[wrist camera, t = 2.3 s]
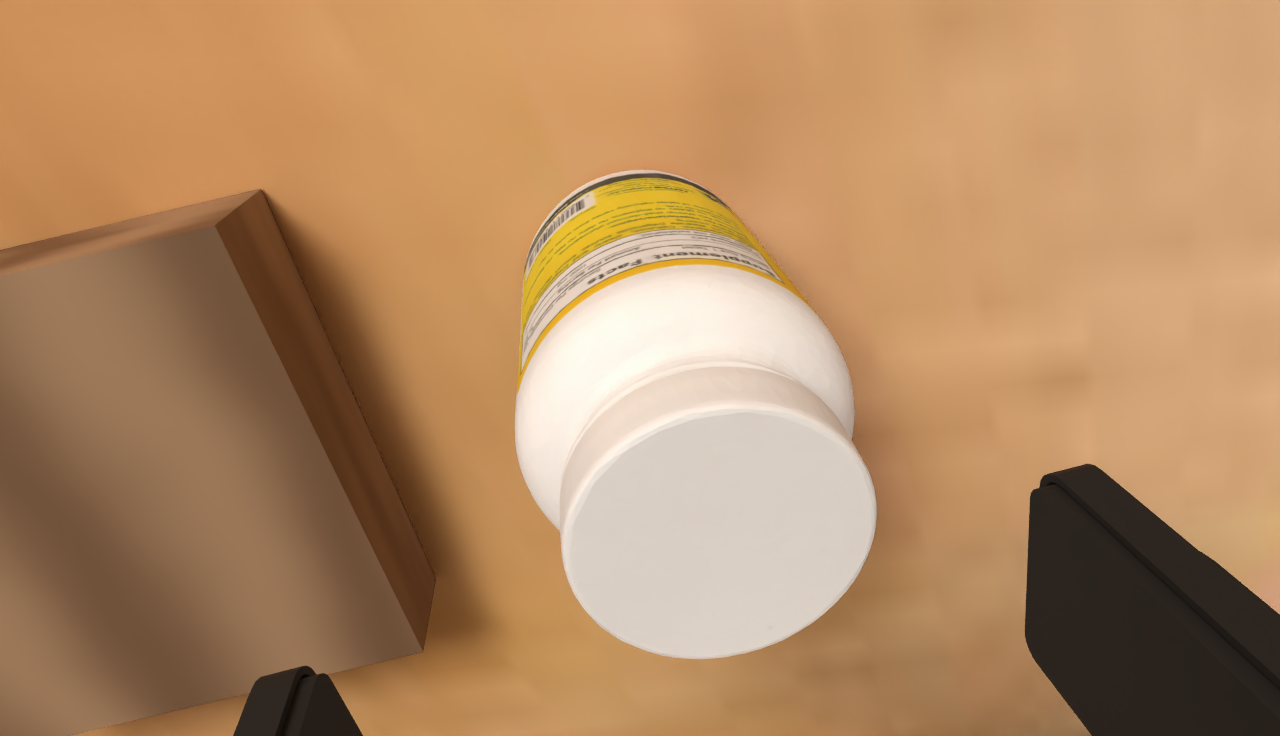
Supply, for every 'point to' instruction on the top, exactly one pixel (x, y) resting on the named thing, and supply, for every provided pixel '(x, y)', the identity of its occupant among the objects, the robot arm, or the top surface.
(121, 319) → the walnut base
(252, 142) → the top surface
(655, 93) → the top surface
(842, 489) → the pill bottle
